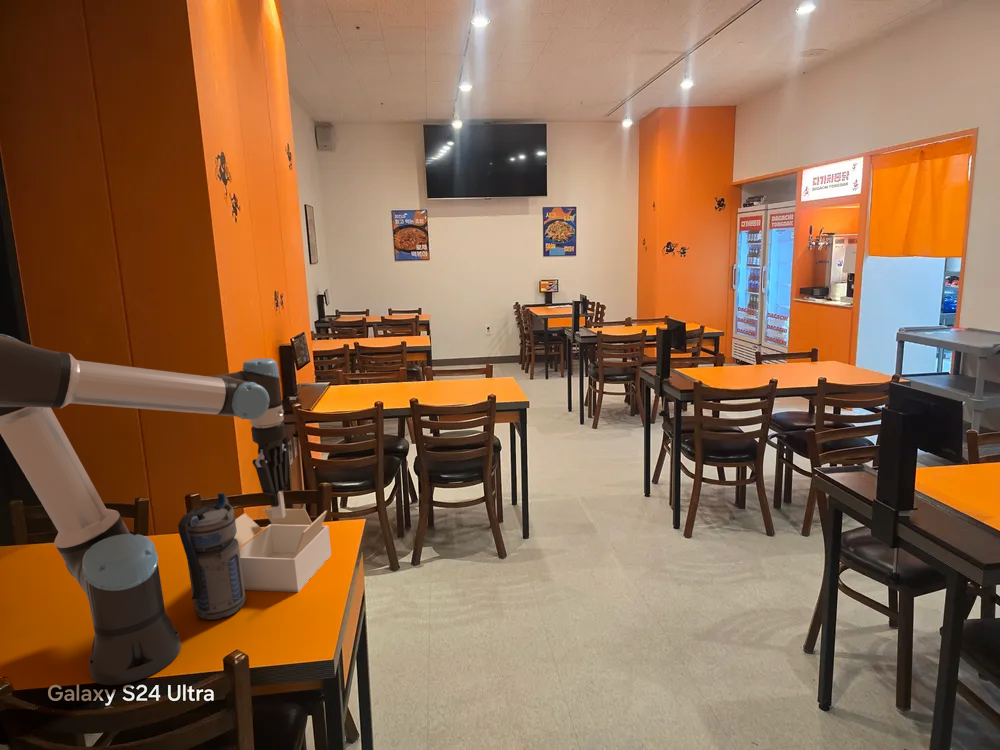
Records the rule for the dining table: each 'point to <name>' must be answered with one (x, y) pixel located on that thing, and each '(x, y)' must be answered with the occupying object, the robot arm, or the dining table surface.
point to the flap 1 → (290, 517)
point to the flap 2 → (310, 532)
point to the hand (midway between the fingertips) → (279, 516)
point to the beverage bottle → (213, 559)
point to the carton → (279, 555)
